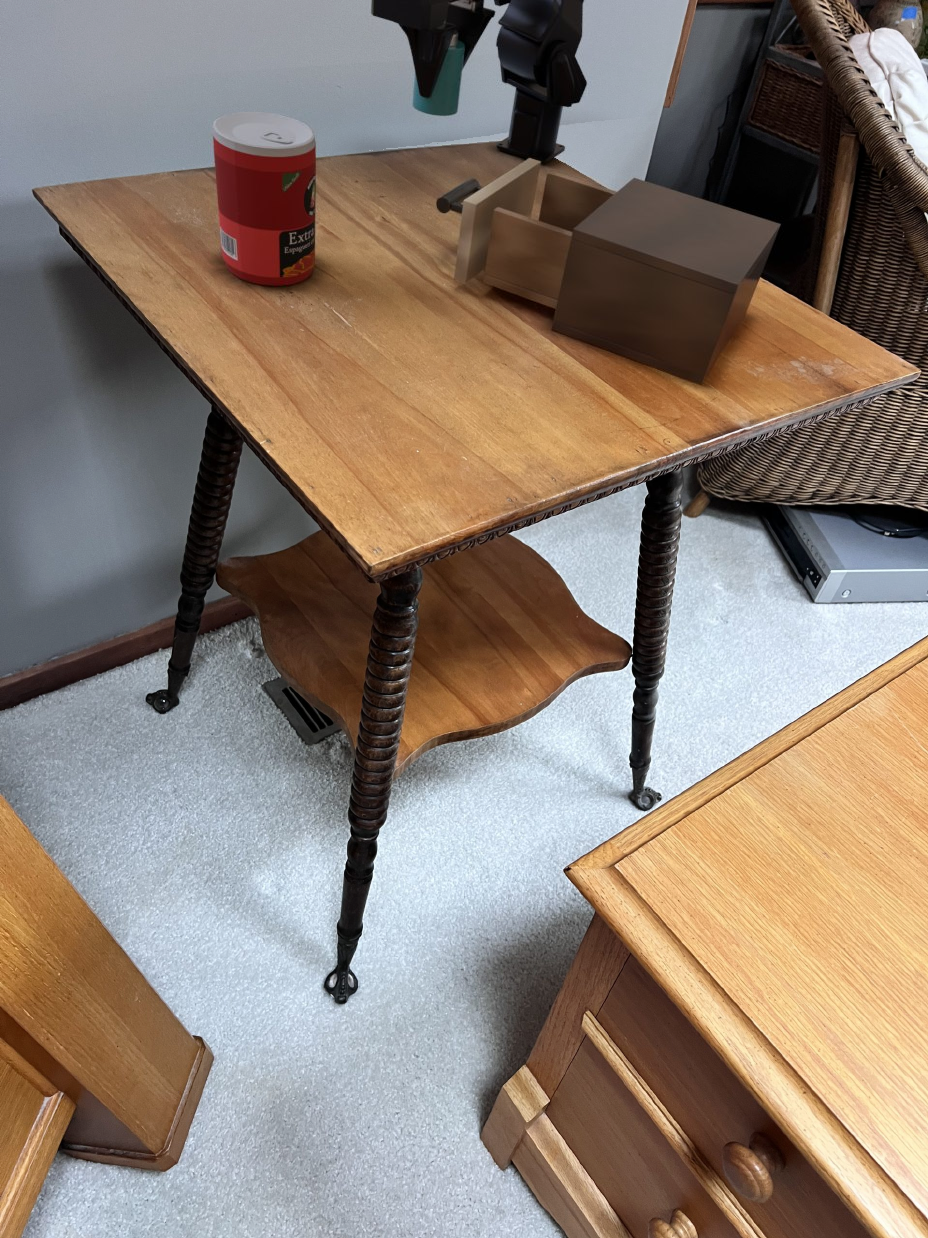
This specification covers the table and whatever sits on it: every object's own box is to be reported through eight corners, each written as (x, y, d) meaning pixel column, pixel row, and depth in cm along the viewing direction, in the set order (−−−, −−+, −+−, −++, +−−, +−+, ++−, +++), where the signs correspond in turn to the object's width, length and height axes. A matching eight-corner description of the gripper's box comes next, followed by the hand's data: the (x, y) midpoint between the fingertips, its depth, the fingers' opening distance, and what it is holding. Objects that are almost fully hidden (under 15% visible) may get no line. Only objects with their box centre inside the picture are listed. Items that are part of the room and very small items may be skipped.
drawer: (411, 264, 77) (417, 184, 72) (477, 217, 86) (488, 144, 81) (583, 327, 73) (603, 247, 68) (635, 272, 82) (655, 198, 77)
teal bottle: (426, 96, 93) (432, 19, 88) (465, 108, 92) (474, 32, 87) (404, 106, 90) (409, 27, 85) (444, 119, 89) (452, 40, 84)
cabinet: (550, 329, 74) (573, 228, 68) (609, 270, 83) (633, 176, 77) (701, 385, 71) (738, 284, 64) (744, 317, 80) (781, 223, 74)
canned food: (298, 295, 72) (297, 154, 64) (207, 274, 73) (194, 132, 65) (327, 257, 78) (328, 123, 70) (241, 239, 78) (233, 103, 70)
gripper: (427, -125, 87) (413, 54, 98) (323, -115, 75) (321, 89, 86) (527, -100, 84) (501, 81, 95) (435, -86, 72) (418, 120, 83)
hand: (436, 91), depth 90 cm, fingers closed on teal bottle, 5 cm apart
